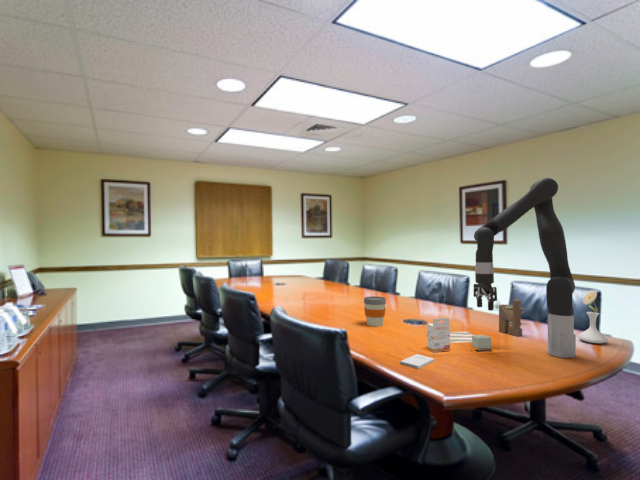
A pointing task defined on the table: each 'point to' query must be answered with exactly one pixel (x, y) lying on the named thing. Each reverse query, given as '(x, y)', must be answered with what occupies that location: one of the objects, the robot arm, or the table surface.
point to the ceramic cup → (511, 311)
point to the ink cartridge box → (438, 335)
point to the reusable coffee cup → (374, 310)
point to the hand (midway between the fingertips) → (485, 308)
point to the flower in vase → (592, 322)
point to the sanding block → (481, 342)
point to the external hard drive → (417, 361)
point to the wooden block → (506, 316)
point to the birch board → (460, 337)
